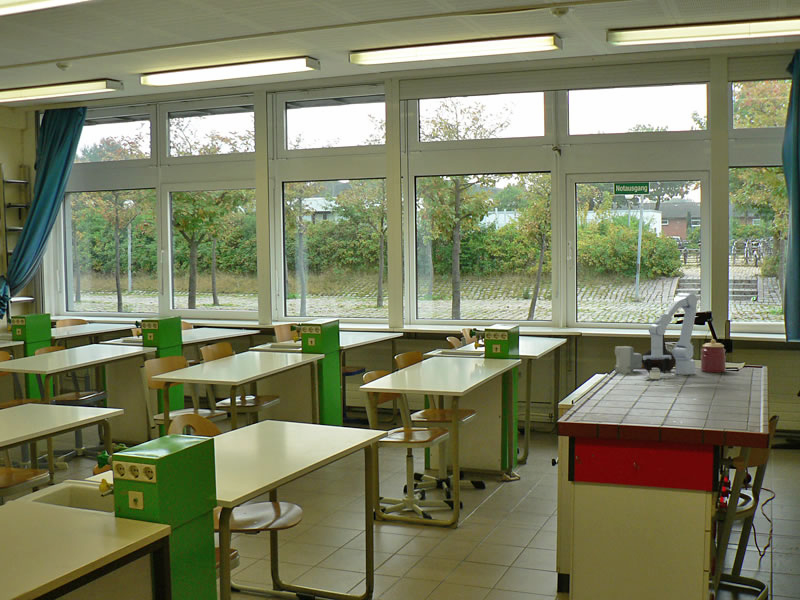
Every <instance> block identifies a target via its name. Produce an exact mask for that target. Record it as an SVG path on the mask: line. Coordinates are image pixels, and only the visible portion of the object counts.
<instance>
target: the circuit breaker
mask: <svg viewBox="0 0 800 600" xmlns="http://www.w3.org/2000/svg"><path fill="white" fill-rule="evenodd" d="M614 355H615V357H616V358H615V359H616V362H615V363H616V364H615V365H614V372H615V373H618V374H619V373H622V374H624V373H625V374H627V373H634V369H642V366H643V365H642V361H644V360H643V359H642V356H643V355H642V354H641V353H638V352H634V347H632V346H629V345H628V346H627V345H624V346H623V345H622V346H620V345H619V346H615V347H614Z"/></svg>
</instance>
